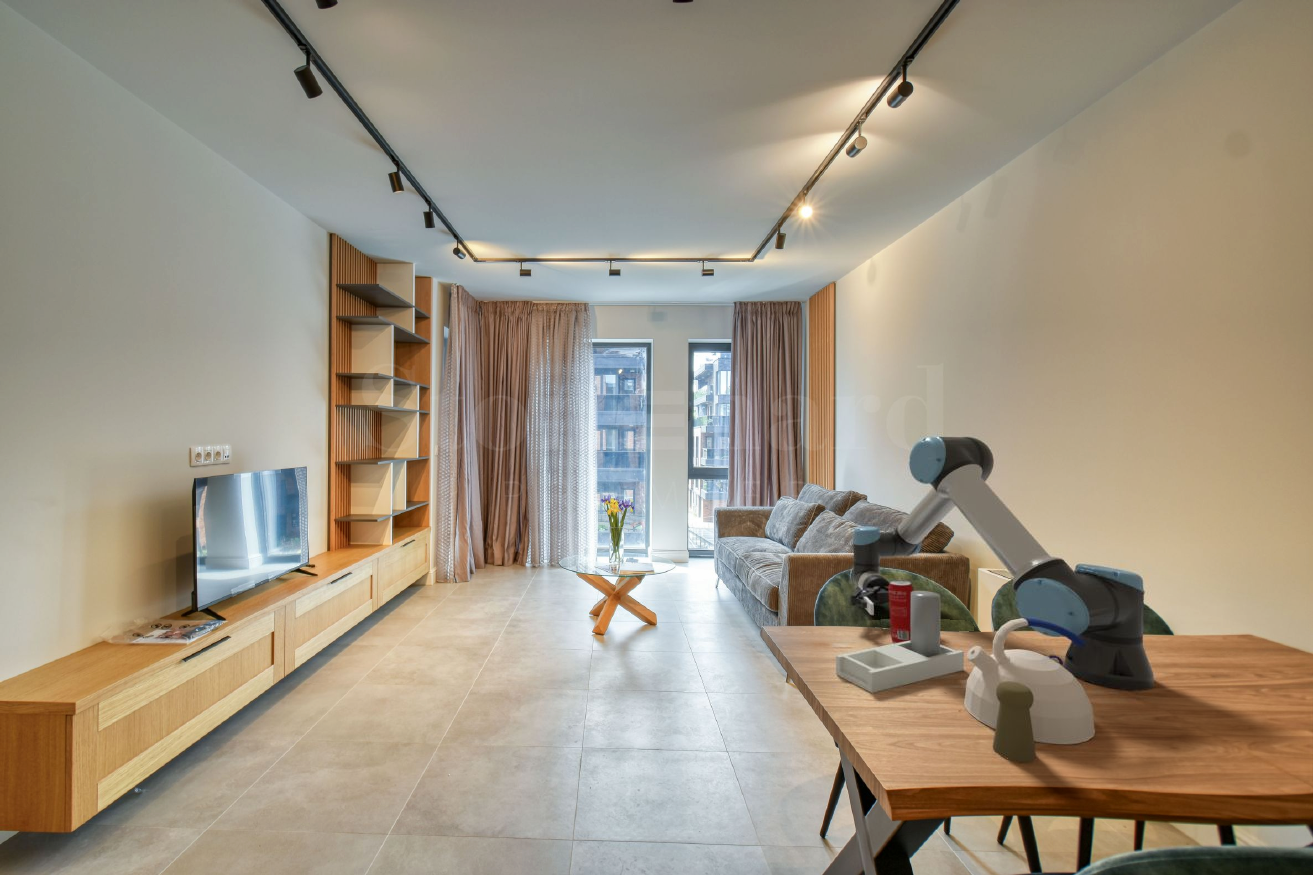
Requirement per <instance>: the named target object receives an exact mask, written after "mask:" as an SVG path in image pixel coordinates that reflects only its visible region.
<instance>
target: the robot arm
mask: <svg viewBox="0 0 1313 875" xmlns="http://www.w3.org/2000/svg"><path fill="white" fill-rule="evenodd" d="M994 462H995V461H994V456H993V452H992V450H991V449H990V447H989V446H988V444H986V443H985V442H983V441H982V440H981V439H978V438H976V437H971V436H937V435H936V436H931V437H930V436H929V437H923V438H921V439H920V440H918V441H917V442H916V443H914V445H913V447H912V449H911V450H910V454H909V462H908V465H909V466H908V467H909V471H910V473H911V476H912V477H913V478H914V480H916V481H917V482H918V483H921V484H924V485H929V484H930V486H931V487H932V488H931V489H930V490H929V491H928V492H927V493H926V495H925V496H924V497H923V498H922V499H921V500H920V502H918V504H916V506H915V507H914V508H913V509H912V510H911V512H909V513H908V514H907V516H906V517H905V518H904V519H903V520H902V521H901V522H900V524H898V526H897V527H896V528H895V529H894V530H892V531H889V532H888V531H885V532H881V531H880V528H878V527H877V526H876V527H875V526H868V525H867V526H866V525H863V526H856V527H855V528H854V529H853V530H854V531H853V537H852V538H853V539H852V543H853V545H852V546H853V562H852V567H851V570H850V572H849V579H850V581H851V582H852V585H853V586H854V587H855V591H854V592H852V593H851V595H850V605H851V606H856V605H857V608H858V609H859V610H863V609H864V610H865V611H866V612H868V613H869V615H870V616H874V615H875V614H874V612H875V611H874V610H875V609H874V605H884V604H887V603H889V591H888V586H889V583H890V581H889V580H887V579H886V578H885V577H884V576H883V575H882V574H880V572H881V571H880V565H881V563H880V562H881V559H883V558H894V557H910V556H914V555H917V554H919V552H920V551H921V547H922V546H923V545H922V544H923V543H922V541H923V539H924V538H925V537H926V536H927V535H928V534H929V533H930V532H931V531H933V529H935V527H936V526H938V524H939V523H940V522H941V521H942V520H943V519H944V518H945V517H946V516H947V515H948V514H949V513H950V512H951V511H952V510H953V509H954V508H955V507H956V508H957V509H958V510H959V511H960V513H961V514H962V515H963V517H964V518H965V519H966V521H968V523H969V524H970V525H971V526H972V528H973V529H974V530H975V531H976V532H977V534H978V535H979V536H980V538H982V541H984V543H985V544H986V545H987V547H988V548H989V549H990V550H991V551H992V553H993V554H994V555H995V557H996V558H997V559H998V560H999V561H1000V563H1001V564H1002V565H1003V566H1004V568H1005V569H1006V570H1007V571H1008V572H1009V573H1010V575H1011V576H1012V577H1013V579H1012V580H1013V581H1012V583H1011V584H1012V585H1011V587H1012V589H1013V590H1014V592H1015V595H1014V596H1015V597H1014V598H1015V599H1014V600H1015V602H1016V603H1017V604H1015V606H1016V610H1017V612H1018V614H1019V616H1020V617H1021V618H1029V619H1037V620H1042V621H1046V622H1050V623H1053V624H1056V625H1058V626H1061V627H1063V628H1065V629H1067V630H1069V631H1071V632H1073V633H1074V634H1076V635H1077V636H1079V637H1080V638H1081V639H1082V640H1083V641H1084V642H1085V643H1086V644H1087V645H1086V646H1077V645H1075V644H1074V643H1073V642H1072V641H1071V640H1070V643H1069V646H1068V649H1067V651H1066V653H1065V655H1064V668H1065V669H1066V670H1068V671H1069V672H1070V673H1071V674H1072V675H1073V676H1074V677H1075V678H1076V677H1077V678H1079V679H1081V680H1083V681H1086V682H1089V683H1092V684H1097V685H1099V686H1103V687H1109V688H1114V689H1119V690H1129V691H1131V690H1132V691H1142V690H1144V691H1145V690H1148V689H1151V688H1153V687H1154V680H1155V679H1154V678H1155V677H1154V672H1153V669H1152V666H1151V663H1150V661H1149V658H1148V655H1147V653H1146V650H1145V647H1144V610H1145V609H1144V604H1145V603H1144V600H1145V599H1144V598H1145V590H1144V580H1143V577H1141V575H1139V574H1138V573H1136V572H1132V571H1129V570H1123V569H1120V568H1119V569H1118V568H1113V567H1108V566H1101V565H1095V564H1088V563H1087V564H1086V563H1078V564H1076V565H1075V568H1074V570H1073V569H1072V567H1071V566H1069V564H1068V563H1067V562H1066V561H1065V560H1064V559H1063V558H1061V557H1057V556H1051V555H1050V554H1049V553H1048V552H1047V551H1046V550H1045V549H1044V547H1043V546H1042V545H1041V544H1040V543H1039V542H1038V541H1037V539H1035V537H1034V536H1033V535H1032V534H1031V533H1030V531H1029V530H1028V529H1027V528H1026V526H1024V525H1023V523H1021V521H1020V520H1019V519H1018V518H1017V517H1016V516H1015V514H1014V513H1013V512H1012V511H1011V510H1010V509H1009V508H1008V506H1007V505H1006V504H1005V503H1004V502H1003V500H1001V499H1000V497H999V496H998V495H997V494H996V493H995V492H994V490H993V489H992V488H991V487H990V486H989V485H988V484H987V483H986V481H987V480H988V478H990V475H991V474H992V471H993V469H994ZM1029 627H1030V628H1032V629H1033V630H1034V631H1036V632H1037V633H1040V634H1042V635H1043V636H1048V637H1051V638H1053V637H1054V638H1061V637H1063V638H1066V637H1065V636H1063V635H1061V634H1059V633H1057V632H1054V631H1052V630H1049V629H1045V628H1041V627H1034V626H1029Z"/></svg>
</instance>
